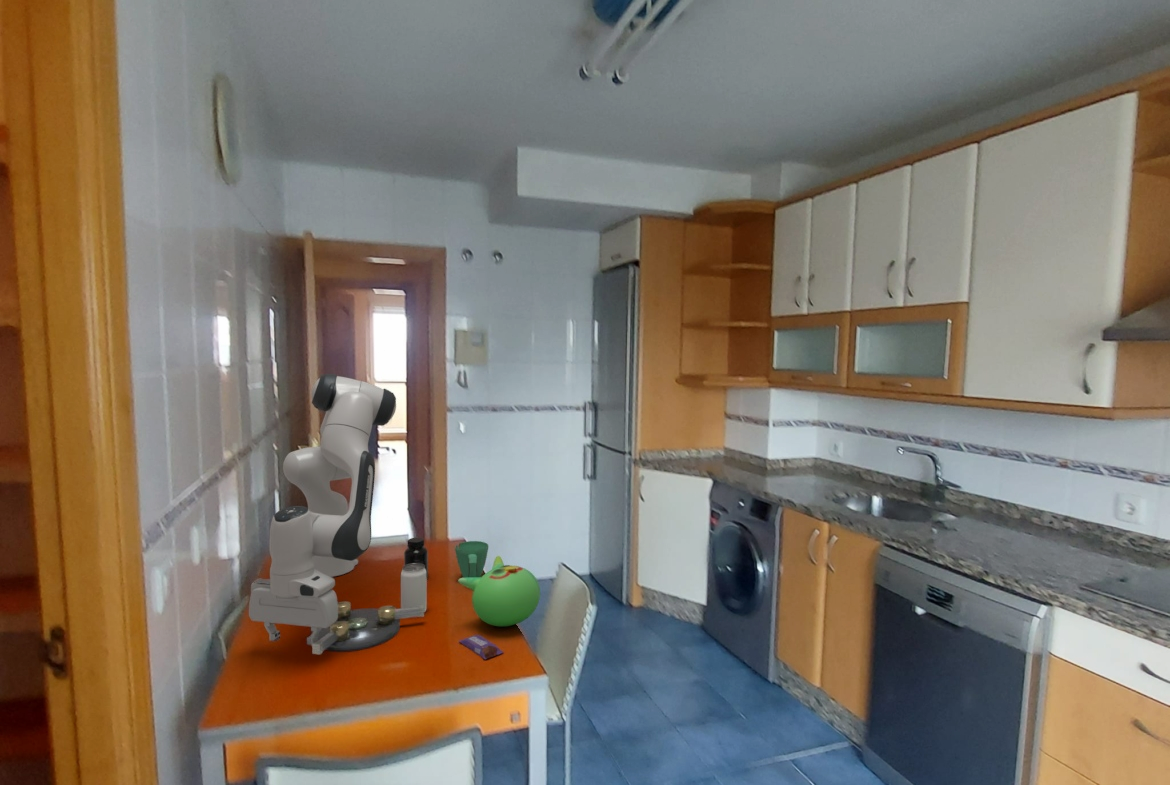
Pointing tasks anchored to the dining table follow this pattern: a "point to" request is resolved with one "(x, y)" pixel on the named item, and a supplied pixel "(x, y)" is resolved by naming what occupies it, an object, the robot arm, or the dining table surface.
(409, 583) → the can
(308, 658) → the dining table surface
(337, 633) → the front knob
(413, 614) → the left knob
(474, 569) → the mug
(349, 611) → the back knob
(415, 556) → the supplement bottle
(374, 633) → the levelling plate
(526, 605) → the toy bird
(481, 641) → the snack package
